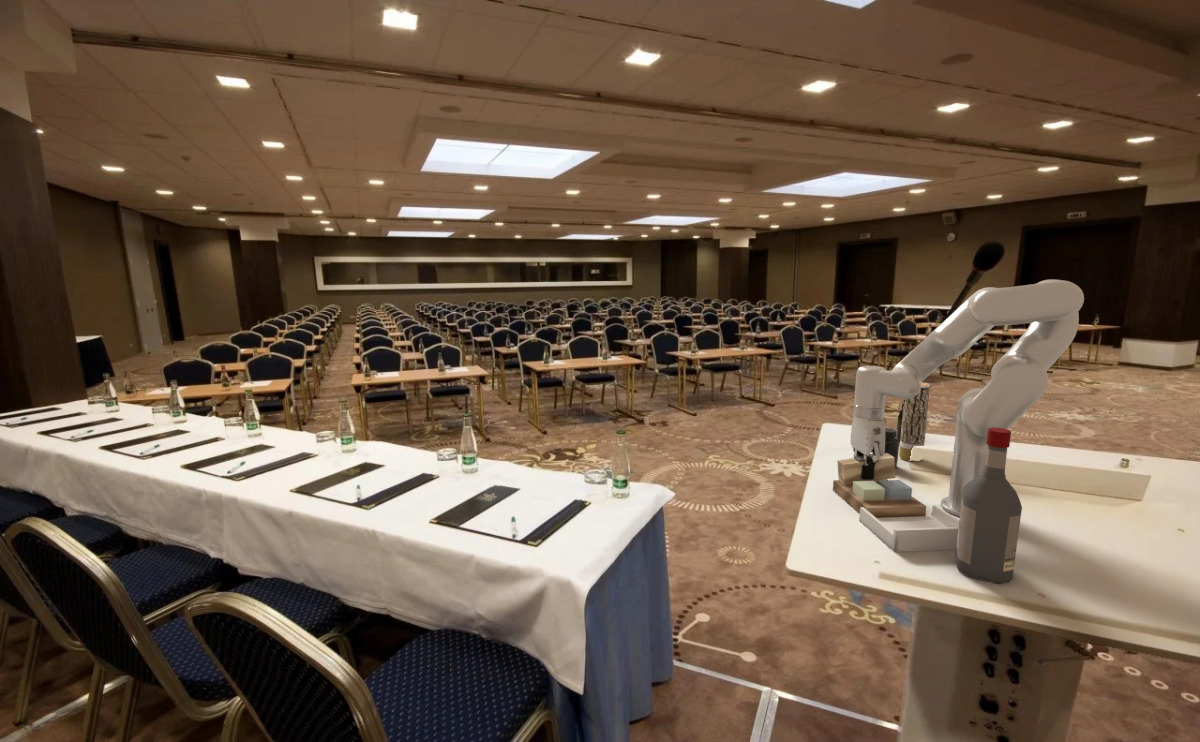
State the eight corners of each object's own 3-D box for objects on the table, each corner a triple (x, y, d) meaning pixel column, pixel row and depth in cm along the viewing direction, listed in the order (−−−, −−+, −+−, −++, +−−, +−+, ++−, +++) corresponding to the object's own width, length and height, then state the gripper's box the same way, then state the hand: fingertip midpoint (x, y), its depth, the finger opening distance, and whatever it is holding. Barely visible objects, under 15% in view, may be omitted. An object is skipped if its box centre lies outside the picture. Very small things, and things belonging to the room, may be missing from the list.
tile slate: (911, 499, 137) (912, 488, 137) (890, 499, 137) (890, 488, 137) (898, 490, 143) (899, 480, 142) (878, 491, 142) (879, 480, 142)
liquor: (956, 575, 108) (973, 433, 103) (954, 555, 116) (969, 421, 111) (1013, 588, 104) (1033, 439, 98) (1007, 566, 111) (1025, 427, 106)
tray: (978, 548, 118) (980, 527, 118) (893, 551, 118) (895, 530, 117) (934, 518, 133) (936, 499, 132) (859, 520, 133) (860, 501, 132)
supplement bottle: (875, 469, 166) (878, 432, 164) (870, 462, 172) (872, 426, 170) (899, 471, 164) (903, 433, 162) (893, 463, 171) (896, 427, 169)
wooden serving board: (925, 517, 134) (926, 506, 133) (866, 519, 133) (867, 508, 133) (885, 488, 151) (885, 478, 151) (832, 490, 151) (833, 480, 150)
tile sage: (884, 500, 137) (885, 489, 136) (863, 500, 137) (863, 489, 136) (872, 491, 142) (873, 480, 142) (852, 492, 142) (853, 481, 142)
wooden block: (895, 478, 147) (894, 455, 145) (844, 485, 147) (843, 462, 145) (888, 473, 150) (887, 451, 149) (838, 480, 150) (837, 458, 149)
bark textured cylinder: (894, 457, 176) (900, 382, 172) (907, 454, 179) (914, 380, 174) (913, 463, 170) (920, 386, 166) (927, 460, 173) (935, 384, 168)
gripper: (900, 420, 137) (893, 487, 140) (866, 404, 153) (861, 465, 156) (871, 420, 137) (865, 488, 140) (840, 404, 153) (836, 465, 156)
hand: (863, 475), depth 148 cm, fingers closed on wooden block, 3 cm apart
